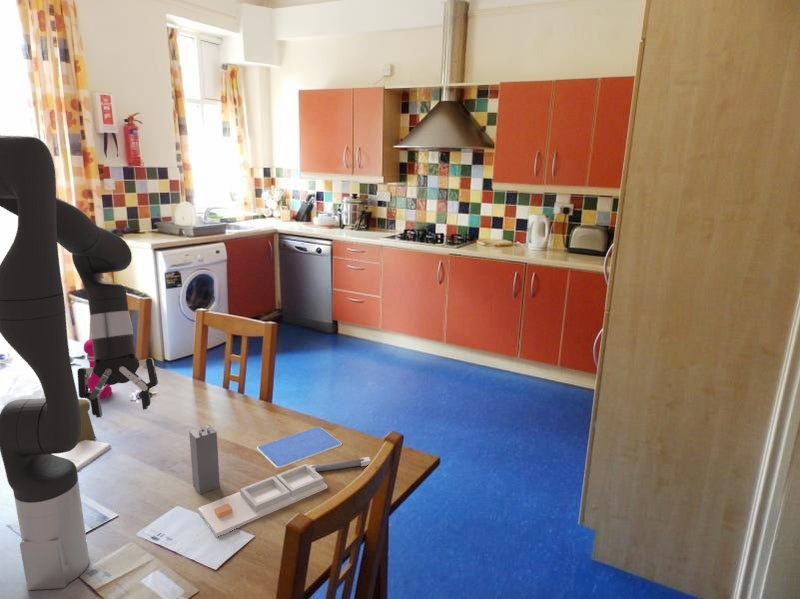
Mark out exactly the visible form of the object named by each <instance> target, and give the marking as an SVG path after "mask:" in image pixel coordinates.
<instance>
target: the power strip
mask: <svg viewBox="0 0 800 599" xmlns="http://www.w3.org/2000/svg"><path fill="white" fill-rule="evenodd" d="M309 465H310V464H308V463H306V462H305V463H304V464H301V465H298V466H296V467H293V468H290V469H287V470H286V471H282V472H281V473H280V472H279V473H278V474H275V476H274V475H273V476H270V477H267V478H265V479H262V480H260V481H257V482H254V483H252V484H249V485H247V486H243V487H242V488H239V491H238V492H235V493H232V494H230V495H228V496H224V497H222V498H219V499H217V500H215V501H212V502H209V503H207V504H204V505H202V506H200V507H197V512H198V514H199V515H200V516H201V518H202V517H203V518H204V519H203V518H202V519H203V521H204V520H205V521H206V522H207V523H206V522H205V521H204V522H205V523H206V524H208V525H209V526H208V525H207V526H208V528H209V527H210V528H211V529H210V528H209V529H210V530H211V532H212V531H213V532H212V533H213V535H214V536H215V535H216V536H215V538H219V537H221V536H220V535H222V536H223V534H224V535H225V533H226V534H228V533H230V532H229V531H231V532H232V530H233V531H235V530H237V529H236V528H238V529H240V528H241V526H243V525H244V526H245V524H248V523H251V522H252V521H256V520H257V519H259V518H262V517H264V516H267V515H269V514H271V513H273V512H275V511H278V510H281V509H283V508H286V507H288V506H290V505H292V504H294V503H297V502H298V501H301V500H303V499H306V498H308V497H310V496H312V495H315V494H317V493H319V492H321V491H324V490H326V489H328V485H327V484H326V482H324V477H323V476H322V475H321V474H320V473H318V472H316V471H315V470H314V469H313V468H311V467H310V466H309ZM305 469H306V472H305ZM234 529H235V530H234ZM227 532H228V533H227ZM218 536H219V537H218Z"/></svg>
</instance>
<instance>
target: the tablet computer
mask: <svg viewBox="0 0 800 599" xmlns="http://www.w3.org/2000/svg"><path fill="white" fill-rule="evenodd" d="M342 445H343V443H342V442H341V441H340V440H339V439H338V438H335V437H334V436H333V435H332V434H330V433H329V432H328V431H326V430H325V428H323V427H321V426H315V427H311V428H309V429H306V430H303V431H300V432H297V433H295V434H291V435H289V436H284V437H282V438H279V439H275V440H274V441H270V442H267V443H265V444H262V445H261V444H260V445H258V446H257V447H256V450H258V452H259V453H260V454H261V455H262V456H263V457H264V458H265V459H267V461H268V462H270V463H271V465H272V466H274V468H276V469H282V468H286V467H287V466H290V465H292V464H295V463H299V462H301V461H304V460H306V459H309V458H312V457H315V456H317V455H320V454H323V453H325V452H328V451H331V450H333V449H336V448H339V447H341V446H342Z"/></svg>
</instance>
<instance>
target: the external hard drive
mask: <svg viewBox="0 0 800 599" xmlns="http://www.w3.org/2000/svg"><path fill="white" fill-rule="evenodd" d="M111 446H112V445H111V444H110V443H108V442H101V441H95V440H93V441H90V440H84V441H81V442H79V443H78V444H77V445H76V447H75V448H74V449H72V450H71V451H68V452H64V453H60V454H59V455H58V457H62V458H65V459H68V460H70V461H72V462H73V463H74V464H75V466H76V468H77V472H78V471H79V470H81V469H83V468H84V467H85V466H88V464H89V463H91V462H92V461H94V460H95V459H97V458H99V456H100V455H102V454H104V453H105V452H106V451H108V450H110V449H111V448H112V447H111Z"/></svg>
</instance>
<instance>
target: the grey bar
mask: <svg viewBox="0 0 800 599" xmlns="http://www.w3.org/2000/svg"><path fill="white" fill-rule="evenodd" d="M370 462H372V461H371V459H370V457H369V456H365V457H359V458H356V459H350V460H342V461H336V462H329V463H322V464H321V463H320V464H308V465H309V466H310V467H311V468H313V469H314V470H315V471H316V472H317V473H318V472H326V471H333V470H339V469H346V468H353V467H368V466H369V465H368V464H369V463H370ZM367 465H368V466H367ZM305 472H306V469H305Z"/></svg>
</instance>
